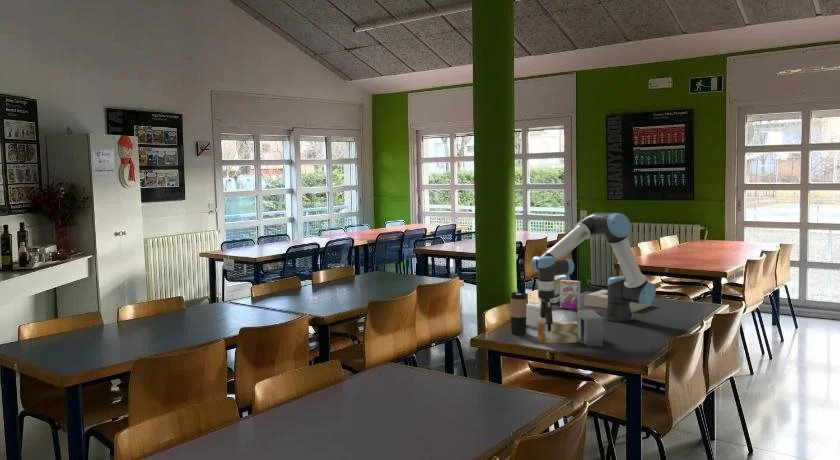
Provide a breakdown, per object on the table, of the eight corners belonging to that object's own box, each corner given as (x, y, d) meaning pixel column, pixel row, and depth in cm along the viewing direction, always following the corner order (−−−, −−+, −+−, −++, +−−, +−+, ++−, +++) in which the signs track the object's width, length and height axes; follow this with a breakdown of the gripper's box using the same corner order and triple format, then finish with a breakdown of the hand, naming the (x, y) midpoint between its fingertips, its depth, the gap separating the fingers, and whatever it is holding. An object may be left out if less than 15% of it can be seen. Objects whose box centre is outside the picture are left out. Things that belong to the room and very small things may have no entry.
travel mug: (509, 331, 348) (509, 292, 346) (524, 331, 348) (524, 291, 346) (512, 335, 340) (512, 294, 338) (528, 334, 341) (528, 294, 339)
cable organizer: (553, 326, 359) (553, 304, 358) (539, 329, 352) (539, 306, 351) (531, 321, 370) (531, 300, 369) (517, 324, 363) (517, 302, 362)
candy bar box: (558, 308, 405) (559, 280, 403) (562, 307, 409) (562, 279, 407) (577, 310, 399) (577, 282, 397) (580, 308, 403) (580, 280, 401)
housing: (592, 336, 336) (592, 309, 335) (602, 346, 316) (603, 318, 315) (577, 336, 336) (577, 309, 335) (587, 346, 316) (587, 318, 315)
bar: (575, 340, 328) (575, 321, 327) (577, 342, 324) (578, 323, 323) (537, 340, 328) (537, 321, 328) (539, 342, 324) (539, 323, 323)
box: (651, 306, 409) (601, 300, 430) (651, 293, 408) (601, 288, 429) (635, 313, 391) (583, 306, 412) (635, 300, 391) (583, 293, 412)
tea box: (556, 303, 420) (556, 279, 418) (540, 302, 425) (540, 278, 424) (565, 299, 432) (565, 276, 431) (549, 298, 438) (549, 275, 436)
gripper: (559, 294, 312) (559, 340, 313) (549, 285, 336) (549, 328, 338) (542, 294, 312) (542, 340, 313) (534, 285, 336) (534, 328, 338)
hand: (546, 334), depth 326 cm, fingers open, 13 cm apart
